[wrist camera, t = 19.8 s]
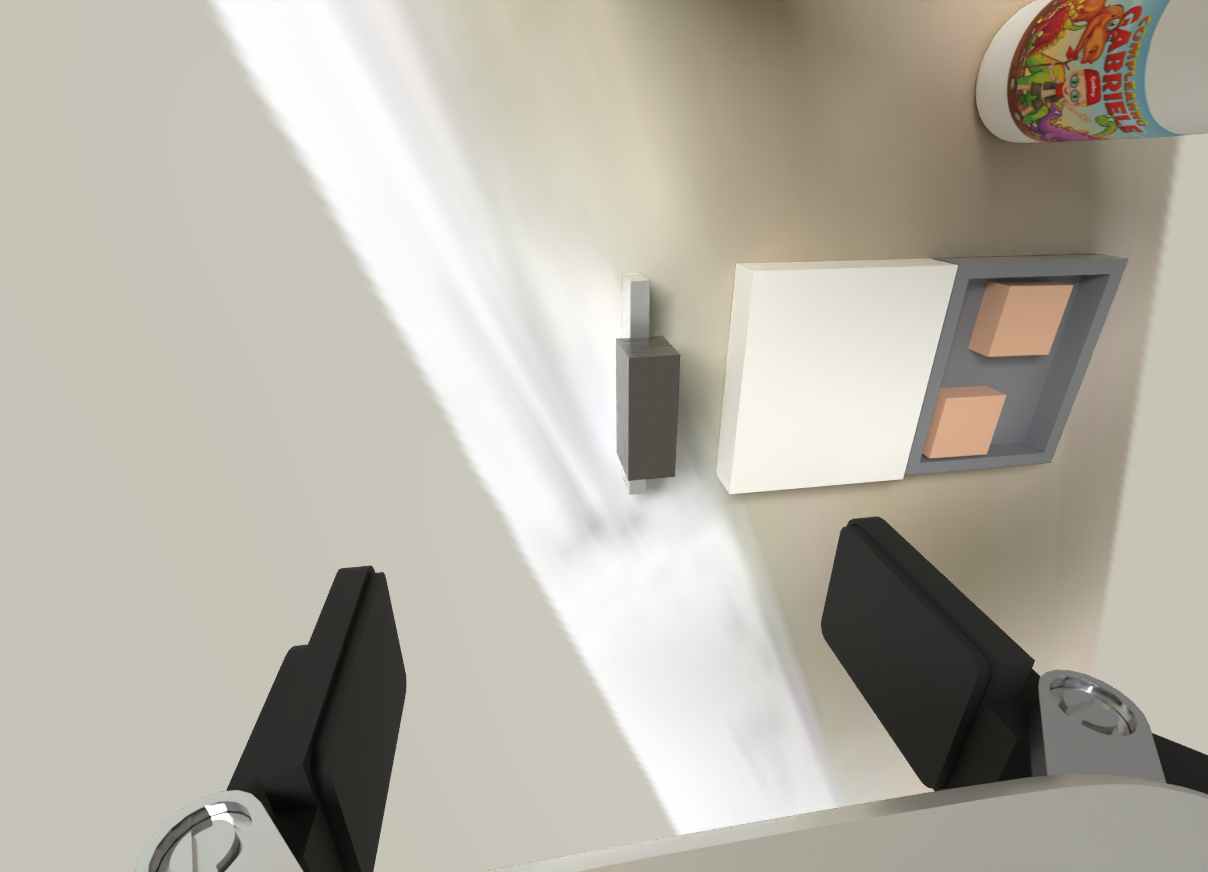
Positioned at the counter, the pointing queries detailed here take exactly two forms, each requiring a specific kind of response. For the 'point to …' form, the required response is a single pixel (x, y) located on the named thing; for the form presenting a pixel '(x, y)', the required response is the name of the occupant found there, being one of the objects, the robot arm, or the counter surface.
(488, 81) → the counter surface
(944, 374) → the tray
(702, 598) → the counter surface
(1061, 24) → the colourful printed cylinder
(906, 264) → the offwhite board
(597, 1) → the counter surface
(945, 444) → the tile
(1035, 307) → the tile
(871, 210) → the counter surface
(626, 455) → the dark block with bar
